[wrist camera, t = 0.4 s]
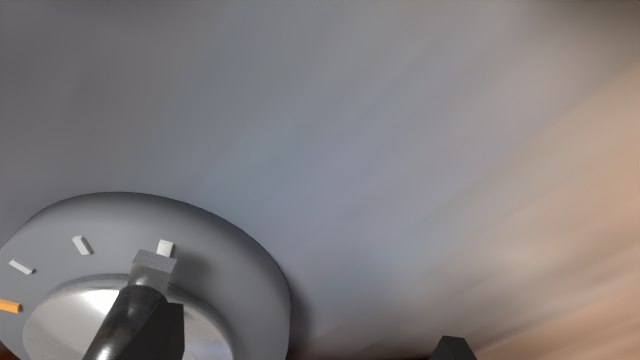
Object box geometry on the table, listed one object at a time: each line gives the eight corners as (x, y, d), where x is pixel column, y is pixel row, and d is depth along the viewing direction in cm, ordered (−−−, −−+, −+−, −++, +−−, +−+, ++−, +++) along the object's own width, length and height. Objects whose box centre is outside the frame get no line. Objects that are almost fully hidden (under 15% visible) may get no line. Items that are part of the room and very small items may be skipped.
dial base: (309, 367, 29) (307, 406, 27) (90, 380, 30) (71, 418, 28) (260, 176, 19) (251, 210, 17) (-55, 207, 21) (-101, 243, 19)
